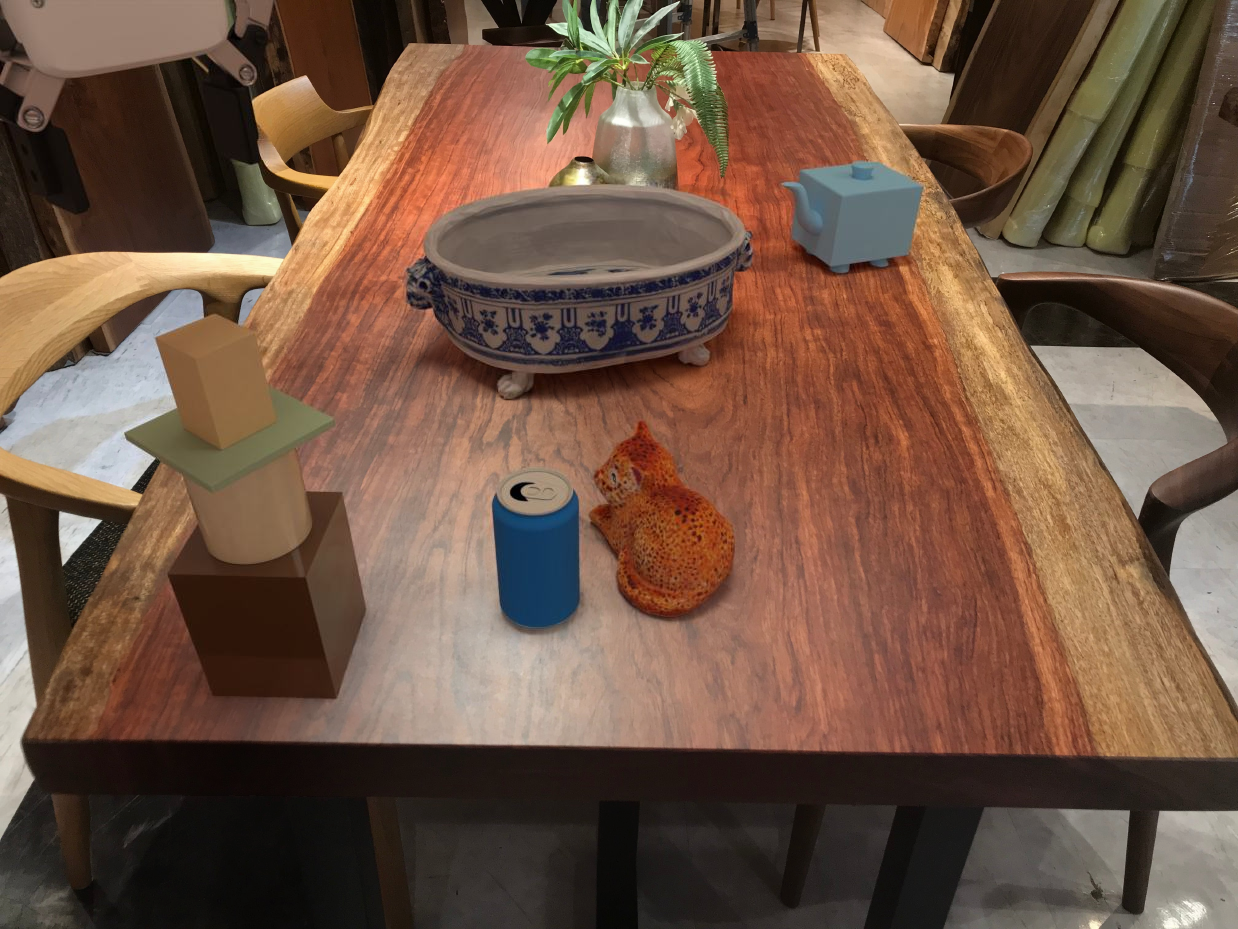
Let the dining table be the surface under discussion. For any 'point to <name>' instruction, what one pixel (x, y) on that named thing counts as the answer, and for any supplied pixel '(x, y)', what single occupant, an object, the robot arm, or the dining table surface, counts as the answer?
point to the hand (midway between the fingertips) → (159, 181)
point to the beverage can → (537, 546)
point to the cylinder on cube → (270, 585)
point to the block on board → (235, 457)
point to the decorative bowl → (580, 277)
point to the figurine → (660, 529)
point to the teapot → (854, 213)
